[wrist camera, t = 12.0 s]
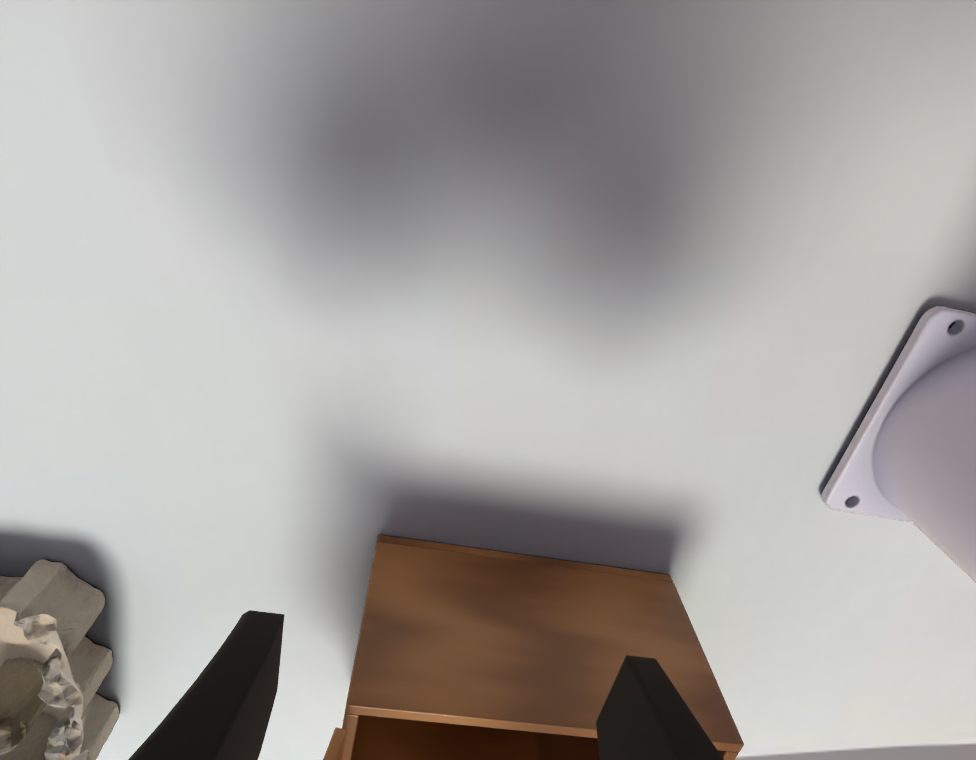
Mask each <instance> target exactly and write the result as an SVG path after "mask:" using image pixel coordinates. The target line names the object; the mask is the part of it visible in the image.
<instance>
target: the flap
mask: <svg viewBox="0 0 976 760" xmlns="http://www.w3.org/2000/svg"><path fill="white" fill-rule="evenodd" d="M345 735H346V730H344V729H340V728H335V730H334V733H333V736H332V738H331V741H330V743H329V746H328V748H327V751H326V754H325V756H324V759H323V760H341V758H342V752H343V747H344V741H345Z"/></svg>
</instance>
